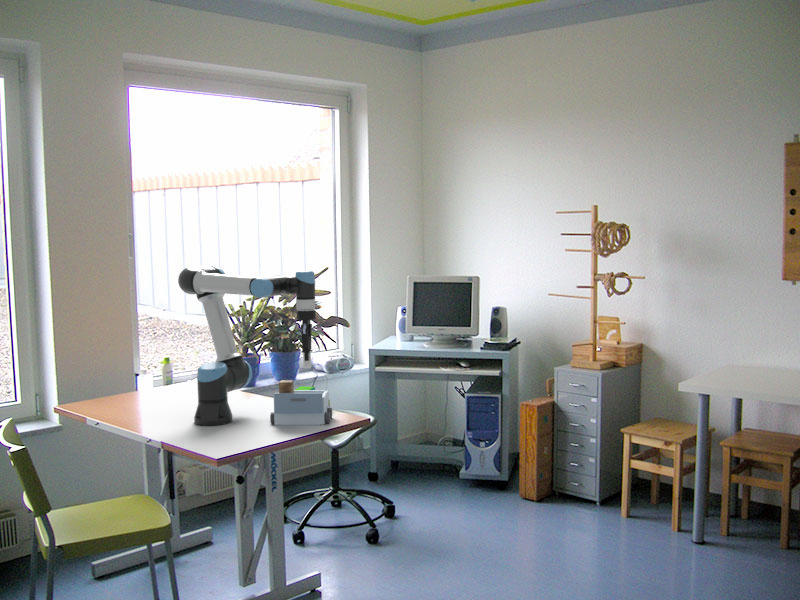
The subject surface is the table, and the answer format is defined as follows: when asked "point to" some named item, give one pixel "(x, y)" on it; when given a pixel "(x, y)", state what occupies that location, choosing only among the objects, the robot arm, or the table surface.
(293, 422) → the truck bed
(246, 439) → the table surface
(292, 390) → the brown wooden block
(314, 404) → the tailgate
